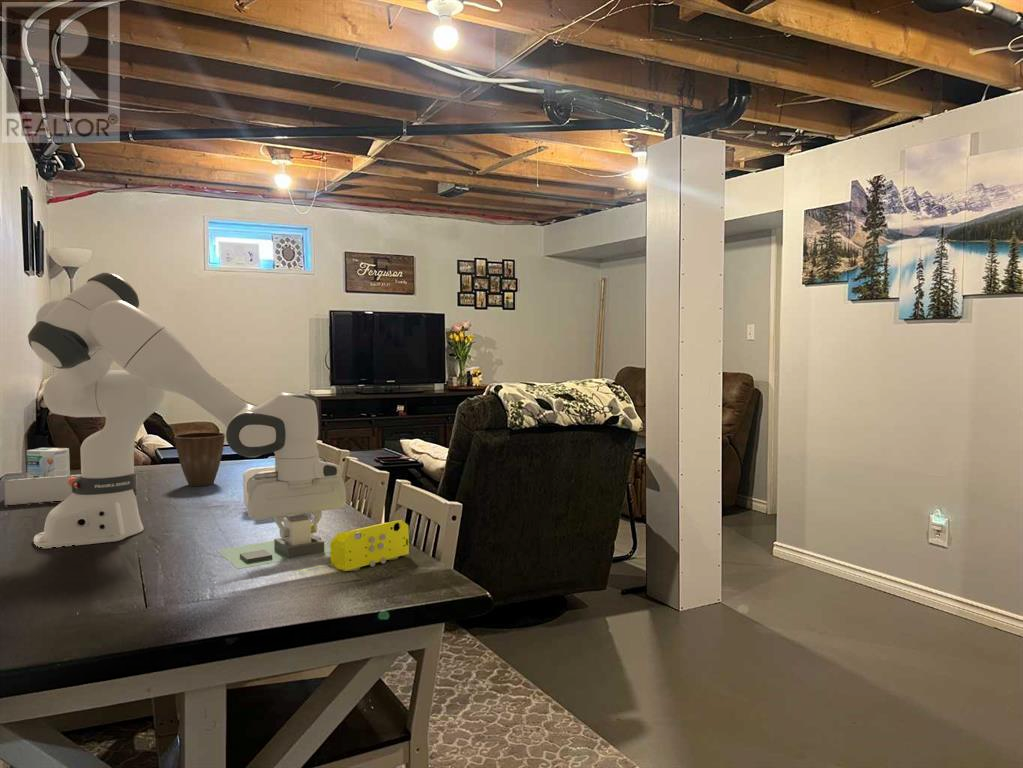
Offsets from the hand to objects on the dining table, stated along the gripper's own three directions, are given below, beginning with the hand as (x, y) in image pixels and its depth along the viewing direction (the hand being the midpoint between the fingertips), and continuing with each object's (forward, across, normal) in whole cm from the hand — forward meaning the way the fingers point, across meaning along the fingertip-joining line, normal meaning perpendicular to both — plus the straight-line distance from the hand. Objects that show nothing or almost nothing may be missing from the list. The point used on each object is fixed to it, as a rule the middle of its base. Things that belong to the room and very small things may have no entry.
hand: (298, 534), depth 154 cm
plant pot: (+5, +4, +99) cm, 99 cm away
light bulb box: (+5, -35, +136) cm, 141 cm away
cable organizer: (+5, +11, +47) cm, 49 cm away
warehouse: (+6, -32, +103) cm, 108 cm away
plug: (+3, 0, 0) cm, 3 cm away
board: (+5, -4, +3) cm, 7 cm away
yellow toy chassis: (+5, +11, -12) cm, 17 cm away
